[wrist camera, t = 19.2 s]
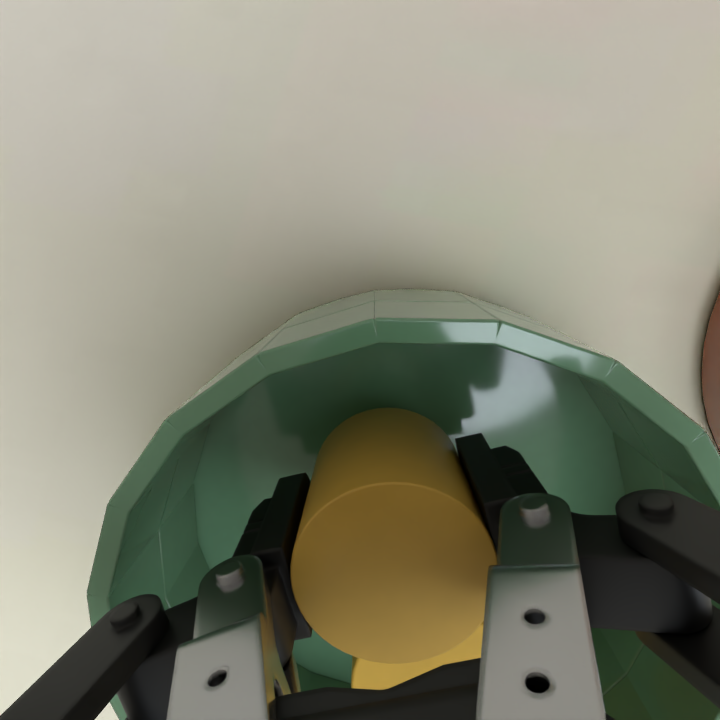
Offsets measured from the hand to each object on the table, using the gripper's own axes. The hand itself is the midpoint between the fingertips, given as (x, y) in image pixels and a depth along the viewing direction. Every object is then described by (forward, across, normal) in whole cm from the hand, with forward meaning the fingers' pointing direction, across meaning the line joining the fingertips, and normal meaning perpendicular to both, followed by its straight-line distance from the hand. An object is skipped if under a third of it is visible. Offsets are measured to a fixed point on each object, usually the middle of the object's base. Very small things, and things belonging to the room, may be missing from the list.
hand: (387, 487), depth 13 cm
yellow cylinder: (+1, 0, 0) cm, 1 cm away
